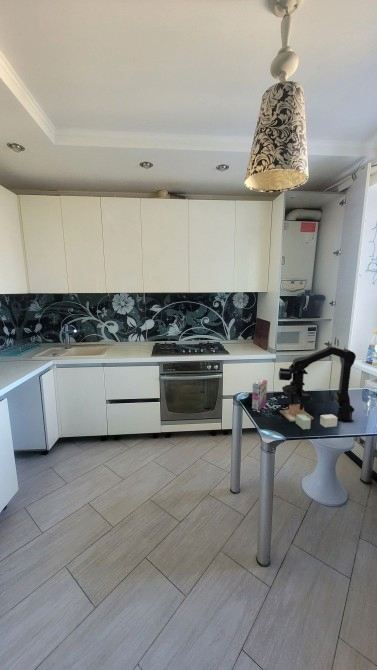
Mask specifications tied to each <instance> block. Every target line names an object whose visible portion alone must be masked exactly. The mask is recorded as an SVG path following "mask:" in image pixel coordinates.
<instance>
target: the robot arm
mask: <svg viewBox="0 0 377 670" xmlns="http://www.w3.org/2000/svg"><path fill="white" fill-rule="evenodd" d="M332 355H333V356H336V357H338V358H339V362H340V364H341V367H340V375H339V384H338V389H337V391H333V395H334V396H333V400H334V402H335V403H336V405H337V406H338V409H337V415H335V416H336V417H337V420H339V421H341V422H342V423H353V422H355V420H354V419H352V418H353V413H354V412H355V408H354V407H353V406H352V405H351V399H350V395H349V389H350V379H351V371H352V367H353V365H354V364H355V361H356V357H357V355H356V353H355V352H354V351H352V350H350V349H347V348H345V349H341V348H338V347H335V346H333V345H329V346H327V347H326V348H322V349H320V350H319V351H316V352H313V353H311V354H309V355H306V356H301V357H300V356H299V357H297V358H294V359H293V360H292V363H291V365H290V366H289V367H288V368H282V367H279V371H278V380H279V381H290V382H289V383H290V384H285V385H284V386H282V387H281V389H282V392H283V394H285V395H286V396H288V397H289V400H290V405H293V404H294V402H295V399H296V397H297V400H298V404H299V405H300V410H302V409H303V408H304V409H305V406H306V404H307V403H309V402H311V401H312V398H313V397H312V395H310V394H308V393H306V392H305V390H304V389H303V388H304V386H305V385H306V384H305V383H304V375H308V371H306V368H308V367H309V366H310V365H312V364H313V363H315V362H318V361H321V360H322V359H325V358H328V357H329V356H332ZM296 395H297V396H296Z"/></svg>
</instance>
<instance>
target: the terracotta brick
mask: <svg viewBox="0 0 377 670" xmlns="http://www.w3.org/2000/svg"><path fill="white" fill-rule="evenodd" d="M288 410H289V414H291V415H292V416H296V414H304V411H305V407H304V408H303V409H302V410H300V405H299V403H297V404H294V403H293V404H288Z"/></svg>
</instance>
